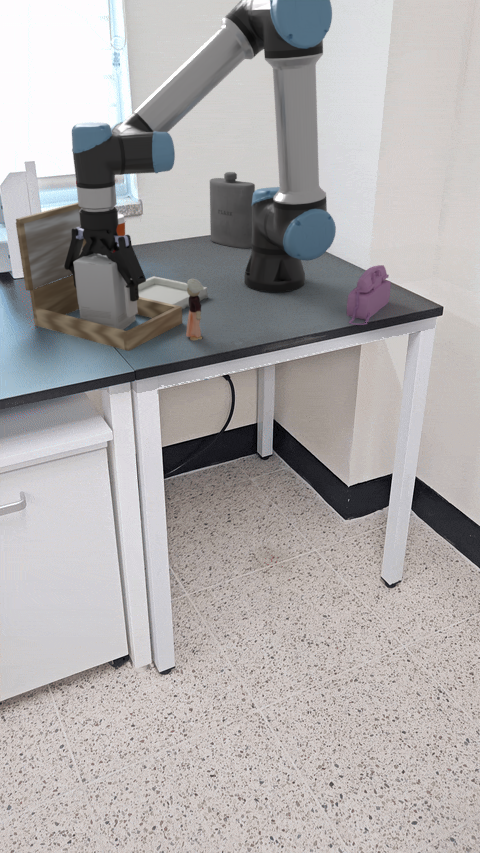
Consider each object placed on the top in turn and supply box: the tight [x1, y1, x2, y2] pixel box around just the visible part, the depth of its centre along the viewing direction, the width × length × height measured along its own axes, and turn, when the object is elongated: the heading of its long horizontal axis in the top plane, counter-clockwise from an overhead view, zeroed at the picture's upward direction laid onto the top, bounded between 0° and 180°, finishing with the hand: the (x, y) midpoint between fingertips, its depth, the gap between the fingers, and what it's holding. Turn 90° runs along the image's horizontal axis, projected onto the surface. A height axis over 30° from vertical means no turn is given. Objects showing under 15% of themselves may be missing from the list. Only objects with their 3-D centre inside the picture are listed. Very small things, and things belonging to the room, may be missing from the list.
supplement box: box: [73, 253, 137, 330], centre depth 152 cm, size 9×9×15 cm
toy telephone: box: [346, 264, 392, 326], centre depth 160 cm, size 18×6×10 cm, turn 149°
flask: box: [209, 171, 256, 249], centre depth 207 cm, size 15×6×20 cm, turn 52°
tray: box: [138, 275, 209, 311], centre depth 168 cm, size 16×16×2 cm
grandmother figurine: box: [185, 278, 204, 341], centre depth 146 cm, size 8×4×13 cm, turn 24°
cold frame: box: [15, 201, 183, 352], centre depth 150 cm, size 27×18×23 cm
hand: (107, 308), depth 154 cm, fingers open, 13 cm apart
